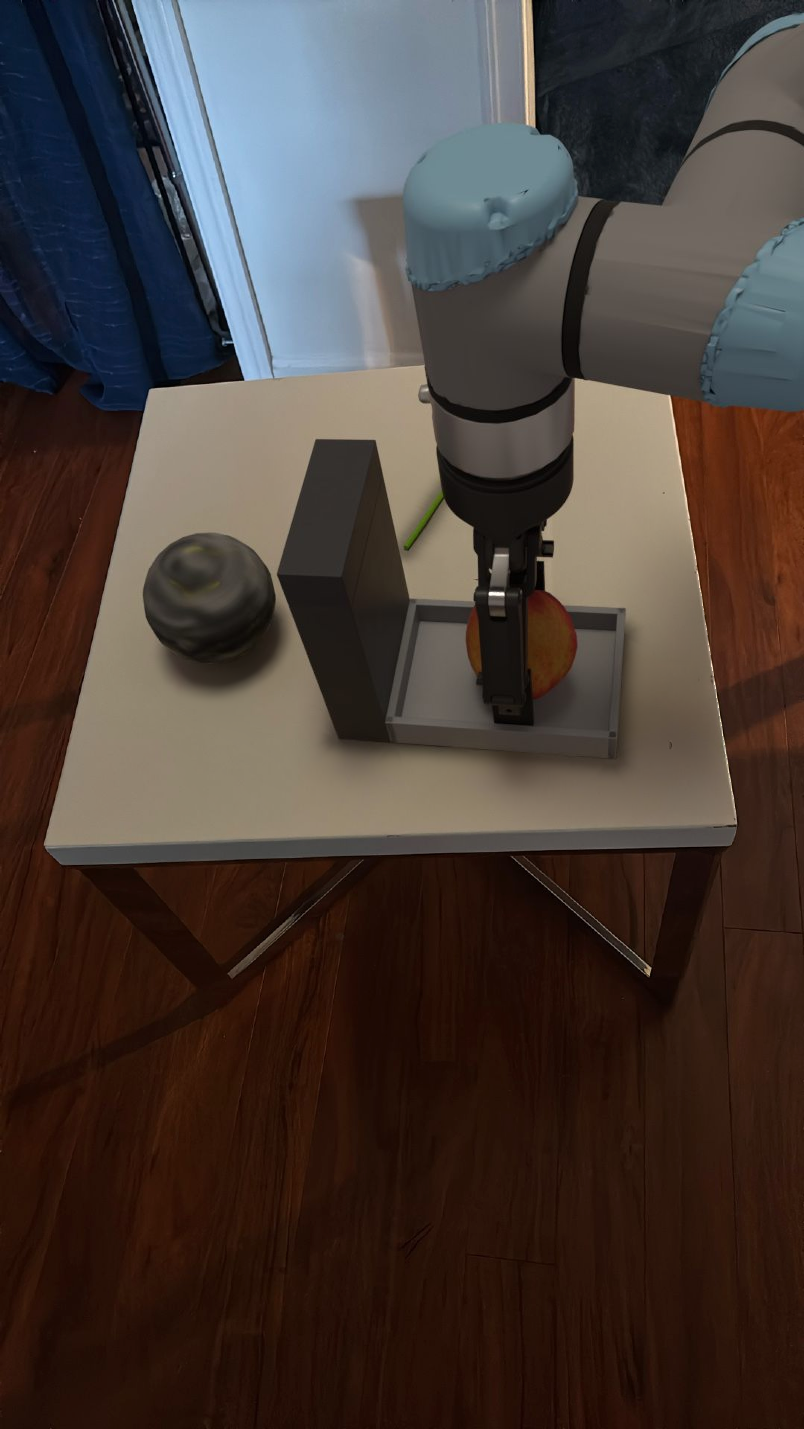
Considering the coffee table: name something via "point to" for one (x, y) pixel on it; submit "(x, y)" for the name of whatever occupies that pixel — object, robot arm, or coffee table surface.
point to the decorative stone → (209, 598)
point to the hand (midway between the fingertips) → (521, 670)
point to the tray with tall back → (419, 631)
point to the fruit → (537, 642)
